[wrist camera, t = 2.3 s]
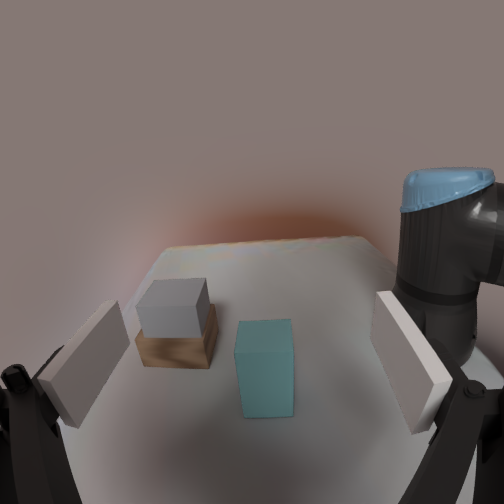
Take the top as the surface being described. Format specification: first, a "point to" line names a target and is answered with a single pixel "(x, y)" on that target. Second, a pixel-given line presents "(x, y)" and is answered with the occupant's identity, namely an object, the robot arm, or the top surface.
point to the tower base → (180, 348)
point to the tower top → (174, 308)
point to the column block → (265, 368)
